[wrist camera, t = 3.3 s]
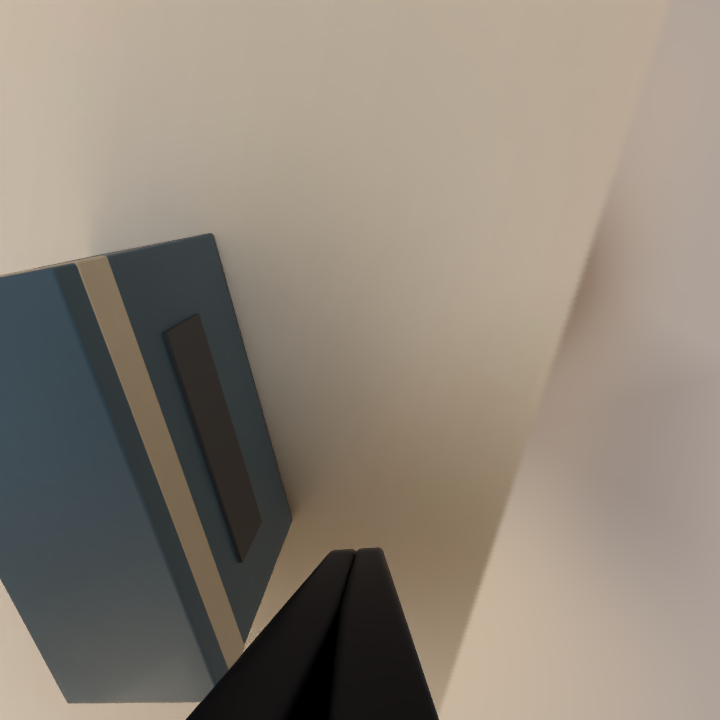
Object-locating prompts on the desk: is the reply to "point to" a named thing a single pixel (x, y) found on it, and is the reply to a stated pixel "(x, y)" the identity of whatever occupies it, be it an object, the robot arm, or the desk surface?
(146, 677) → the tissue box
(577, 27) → the desk surface
